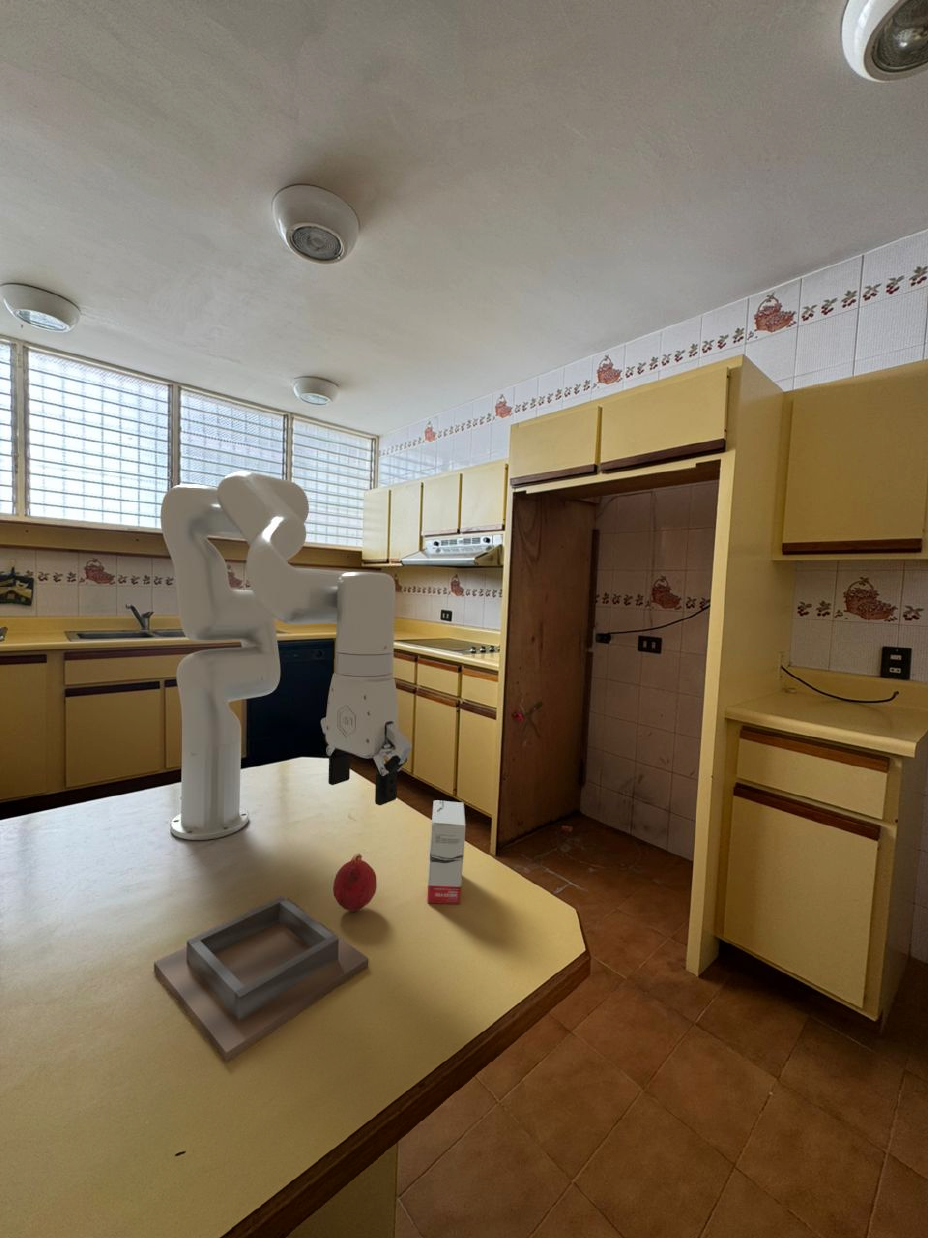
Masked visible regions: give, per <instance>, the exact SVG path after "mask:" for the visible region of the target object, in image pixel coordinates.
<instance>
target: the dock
mask: <svg viewBox="0 0 928 1238" xmlns="http://www.w3.org/2000/svg"><path fill="white" fill-rule="evenodd" d="M368 967H369V958H368V957H367V956H366V955H364V954H363V953H362V952H360V951H359V950H358V949H356V948H355V947H354V946H352V945H351V944H350V943H348V942H347V940H346V941H345V940H344V938H342V937H340V936H339V935H338V934H336V933H335V932H333V930H331V929H330V928H328V926H325V925H324V924H323V923H322V922H321V921H319V920H318V919H316V918H315V917H314V916H312V915H311V914H309V912H307V911H306V910H304V909H303V908H301V907H300V906H299V905H298V904H296V903H295V902H293V901H292V900H291V899H290V898H286V897H284V896H283V895H281V896H280V897H279V896H278V897H277V898H275V899H273V900H270V901H268V902H266V903H264V904H263V905H260V906H258V907H256V908H254V909H252V910H249V911H247V912H245V913H242V914H240V915H239V916H238V915H237V916H236V917H234V918H232V919H230V920H228V921H225V922H224V923H221V924H219V925H217V926H214V927H213V928H211V929H209V930H207V931H206V930H205V932H202V933H200V934H198V935H196V936H194V937H191V938H190V939H187V940H186V946H185V947H183V948H181V949H178V950H176V951H174V952H172V953H170V954H168V955H165V956H163V957H161V958H160V959H158V960H155V961H153V972H154V973H156V976H158V978H159V979H160V980H161V982H162V983H163V984H164V985H165V986H166V988H167V989H168V990H169V992H170V993H171V994H172V996H173V997H174V998H175V1000H177V1002H178V1003H179V1004H180V1006H181V1007H182V1008H183V1009H184V1011H185V1012H186V1013H187V1015H188V1016H189V1017H190V1018H191V1019H192V1021H193V1022H194V1023H195V1025H196V1026H197V1027H198V1029H200V1031H201V1032H202V1033H203V1035H204V1036H205V1037H206V1039H207V1040H208V1042H210V1044H211V1045H212V1046H213V1048H214V1049H215V1050H216V1051H217V1052H218V1054H219V1055H220V1057H221V1058H222V1059H223V1060H224V1062H225V1063H228V1062H230V1061H231V1060H232V1059H234V1058H235V1057H237V1056H238V1055H240V1054H242V1053H243V1052H244V1051H246V1050H247V1049H248V1048H250V1047H252V1046H253V1045H255V1044H257V1043H258V1042H259V1041H261V1040H263V1039H265V1037H266V1036H268V1035H270V1034H271V1033H273V1032H274V1031H276V1030H277V1029H278V1028H280V1027H281V1026H284V1024H286V1023H288V1022H289V1021H290V1020H292V1019H293V1018H295V1017H296V1016H298V1015H299V1014H301V1013H302V1012H304V1011H305V1010H306V1009H308V1008H310V1007H311V1006H312V1005H314V1004H316V1003H317V1002H318V1001H320V1000H321V999H322V998H324V997H326V996H327V995H329V994H331V993H332V992H334V990H336V989H338V988H339V987H341V986H342V985H343V984H345V983H347V982H348V981H350V980H351V979H352V978H354V977H355V976H357V975H358V974H359V973H361V972H363V971H364V970H366V969H367V968H368Z"/></svg>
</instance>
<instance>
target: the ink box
mask: <svg viewBox="0 0 928 1238" xmlns="http://www.w3.org/2000/svg"><path fill="white" fill-rule="evenodd" d="M465 838H466V816H465V804H464V802H463V801H461V802H458V801H449V800H448V801H447V800H438V799H437V800H433V805H432V817H431V827H430V839H429V840H430V842H429V843H430V844H429V857H428V858H429V859H428V876H427V879H428V880H427V900H426V901H427V903H429V904H449V905H450V904H452V905H460V904H461V897H462V896H461V895H462V883H463V882H462V881H463V868H464V867H463V865H464V855H465V840H466V839H465Z"/></svg>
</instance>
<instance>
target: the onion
mask: <svg viewBox="0 0 928 1238" xmlns="http://www.w3.org/2000/svg"><path fill="white" fill-rule="evenodd" d="M362 858H363V856H362V854H360V852H357V853H354V854H353V856H352V858H351V860H349V861H347V862H345V863H344V864H343V865H342V866H341V867H340V868H339V870H337V873H336V875H335V877H334V881H333V887H332V890H333V896H334V898H335V900H336V902H337V904H338V905H339V906H340V907H342V908H343V909H344V910H346V911H350V912H353V913H356V912H358V911H360V910H361V909H363V908H364V907H366V906H368V904H369V903H370V902H371V901H372V899H373V898H374V896H375V894H376V892H377V891H376V890H377V875H376V872H375V870H374V868H373V867H372V866H371V865H370V864H369V863H368V862H367V861H365V860H362Z"/></svg>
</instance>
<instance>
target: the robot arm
mask: <svg viewBox="0 0 928 1238" xmlns="http://www.w3.org/2000/svg"><path fill="white" fill-rule="evenodd" d="M309 505H310V503H309V501H308V496H307V494H306V492H305V491H304V490H303V488H302V487H301V486H300V485H298V484H297V483H295V482H294V481H292V480H288V479H284V478H283V479H282V478H280V477H279V478H278V477H275V476H270V475H265V474H263V473H262V474H261V473H256V472H250V471H249V472H248V471H236V472H233V473H230V474H228V475H226V476H224V478H223V479H222V480H221V481H220V482H219V484H218V487H215V486H210V485H205V484H204V485H202V484H191V483H190V484H189V483H188V484H179V485H175V486H173V487H171V488H170V489H168V491H166V493H165V494H164V497H163V498H162V502H161V507H160V516H159V517H160V526H161V533H162V535H163V539H164V542H165V545H166V548H167V550H168V553H169V555H170V558H171V562H172V564H173V568H174V569H173V570H174V574H175V575H174V576H175V585H176V586H175V587H176V594H177V603H178V604H177V605H178V613H179V620H180V625H181V630H182V632H183V634H184V635H185V637H186V638H187V639H188V640H190V641H193V642H197V643H198V642H200V643H215V642H217V643H218V642H235V641H239V642H240V644H241V647H225V648H212V649H202V650H198V651H194V652H192V653H189V654H188V655H186V656H185V657H183V658H182V659H181V661H180V662H179V664H178V665H177V669H176V685H177V690H178V695H179V702H180V709H181V780H180V781H181V785H180V786H181V791H180V813H179V814H177V815H176V816H175V817H173V819H172V820H170V821H171V822H170V831H171V833H172V834H173V835H174V836H175V837H177V838H180V839H183V840H190V841H202V840H203V841H204V840H205V841H207V840H212V839H218V838H219V839H220V838H223V837H226V836H229V835H232V834H233V833H236V832H238V831H240V830H241V829H242V828H244V827H245V826H246V825H247V823H248V821H249V812H248V810H247V809H246V808H245V807H243V806H241V805H240V802H241V801H240V798H241V765H242V764H241V762H242V761H241V760H242V757H241V756H242V725H241V722H240V719H239V717H238V716H237V715H236V714H235V712H234V711H233V710H232V709H231V707H230V705H229V703H231V702H235V701H240V700H245V699H246V700H247V699H253V698H259V697H263V696H267V695H269V694H271V693H273V692H274V691H275V690H277V687H278V685H279V683H280V679H281V662H280V652H279V646H278V637H277V636H278V635H277V629H276V620H277V621H279V622H281V623H283V624H286V625H292V626H298V625H300V626H301V625H321V624H322V625H324V624H325V625H329V624H330V625H331V624H332V625H334V624H336V638H335V640H336V641H335V643H336V644H335V672H334V673H333V674H332V677H331V681H330V685H329V691H328V697H327V704H326V706H327V707H326V716H325V717H323V718H321V720H320V726H321V729H322V733H323V741H324V743H325V745H326V748H325V749H326V754H327V756H328V784H329V785H330V786H335V785H338V784H340V783H344V782H348V781H349V780H350V778H351V777H350V776H351V774H350V773H351V771H350V770H351V766H350V765H351V755H354V756H357V757H359V758H363V759H372V758H373V760H374V762H375V763H374V764H376V767H377V769H378V771H379V772H378V773H376V774H375V791H374V793H375V794H374V795H375V797H374V799H375V800H374V803H375V804H376V805H377V806H383V805H385V804H387V803H390V802H393V801H396V799H397V797H398V796H397V795H398V772H399V771H401V770H402V767H403V766H404V765H405V764H406V763H407V760H408V756H409V755H410V752H411V751H412V748H413V744H412V742H411V741H410V739H408V738H407V737H406V736H405V735H404V734H403V733H402V732H401V731H400V730H399V705H398V693H397V685H396V680H395V678H394V650H395V649H394V647H395V646H394V644H395V643H394V642H395V618H396V617H395V616H396V615H395V614H396V613H395V612H396V582H395V580H394V578H393V577H392V576H391V575H390V574H388V573H383V572H371V571H369V572H368V571H345V570H332V569H331V570H330V569H320V568H308V567H307V568H304V567H303V568H302V567H301V568H300V567H293V565H291V564H290V563H288V561H289V560H290V559H292V558H294V557H295V556H296V555H297V554H298V553H299V552H300V550H301V549H302V548H303V546H304V544H305V542H306V538H307V528H306V526H305V523H306V521H307V518H308V515H309V513H310V511H309V510H310V506H309ZM209 536H211V537H217V538H218V537H220V538H228V539H237V540H238V539H239V540H245V541H246V543H247V544H248V545H249V549H248V552H247V554H246V555H247V556H246V575H247V580H248V583H249V587H250V589H233V588H232V587H231V585H230V582H229V581H230V579H229V572H228V566H227V563H226V561H225V558H224V557H223V555H222V554H221V553H220V551H219V550H218V549H217V548H216V546H215V545H214V544H213V543H212V542H211V541H210V540H209V539H208V537H209ZM384 756H386V757H387V759H388V760H387V761H386V760H385V757H384Z"/></svg>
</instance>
